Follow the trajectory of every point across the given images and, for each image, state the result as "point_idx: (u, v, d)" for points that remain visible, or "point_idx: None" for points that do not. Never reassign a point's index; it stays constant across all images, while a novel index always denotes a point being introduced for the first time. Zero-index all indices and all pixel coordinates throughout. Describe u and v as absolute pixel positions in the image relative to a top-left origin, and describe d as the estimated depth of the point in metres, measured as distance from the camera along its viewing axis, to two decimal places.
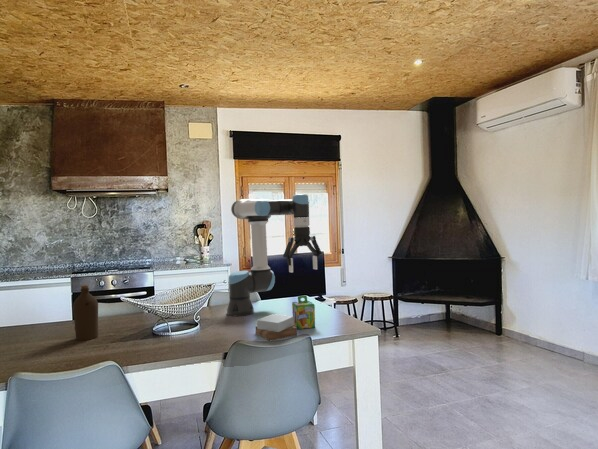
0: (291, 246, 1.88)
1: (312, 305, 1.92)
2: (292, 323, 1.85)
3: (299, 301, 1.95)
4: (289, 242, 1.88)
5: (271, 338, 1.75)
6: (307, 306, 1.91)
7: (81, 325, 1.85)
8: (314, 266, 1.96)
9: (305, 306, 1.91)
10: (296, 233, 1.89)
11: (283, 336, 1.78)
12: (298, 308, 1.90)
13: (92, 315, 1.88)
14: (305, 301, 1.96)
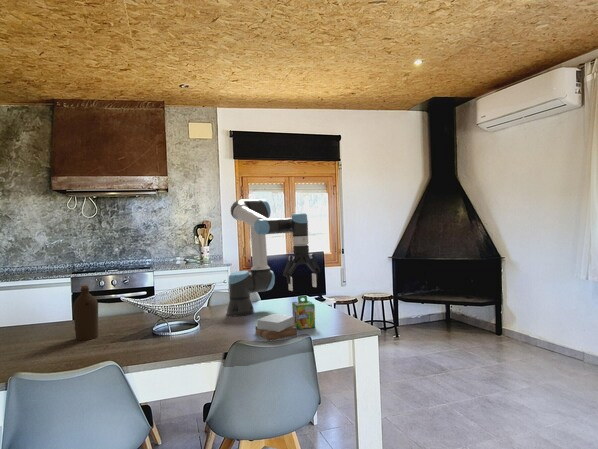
0: (290, 265, 1.90)
1: (312, 305, 1.92)
2: (292, 323, 1.85)
3: (299, 301, 1.95)
4: (288, 261, 1.91)
5: (271, 338, 1.75)
6: (307, 306, 1.91)
7: (81, 325, 1.85)
8: (313, 284, 1.98)
9: (305, 306, 1.91)
10: (295, 252, 1.92)
11: (283, 336, 1.78)
12: (298, 308, 1.90)
13: (92, 315, 1.88)
14: (305, 301, 1.96)
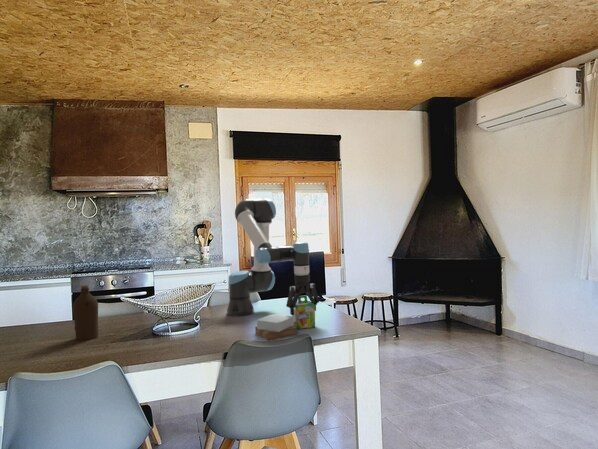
0: None
1: (312, 305, 1.92)
2: (292, 323, 1.85)
3: (299, 301, 1.95)
4: (290, 291, 1.91)
5: (271, 338, 1.75)
6: (307, 306, 1.91)
7: (81, 325, 1.85)
8: None
9: (305, 306, 1.91)
10: (296, 281, 1.92)
11: (283, 336, 1.78)
12: (298, 308, 1.90)
13: (92, 315, 1.88)
14: (305, 301, 1.96)
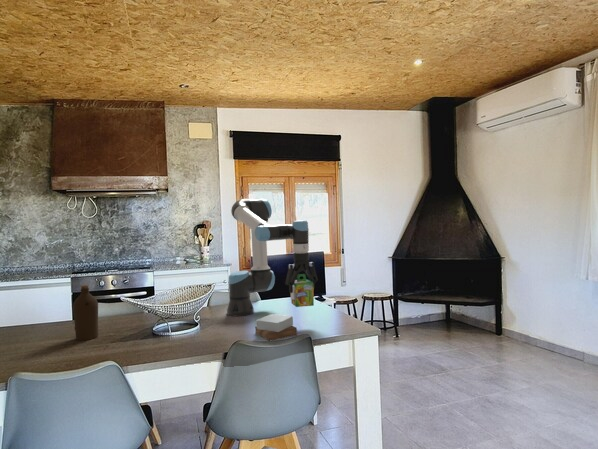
0: (291, 273, 1.91)
1: (311, 283, 1.92)
2: (291, 323, 1.85)
3: (298, 279, 1.95)
4: (289, 269, 1.91)
5: (271, 338, 1.75)
6: (306, 284, 1.91)
7: (81, 325, 1.85)
8: None
9: (304, 284, 1.91)
10: (295, 259, 1.92)
11: (283, 336, 1.78)
12: (297, 286, 1.90)
13: (93, 315, 1.88)
14: (304, 279, 1.96)
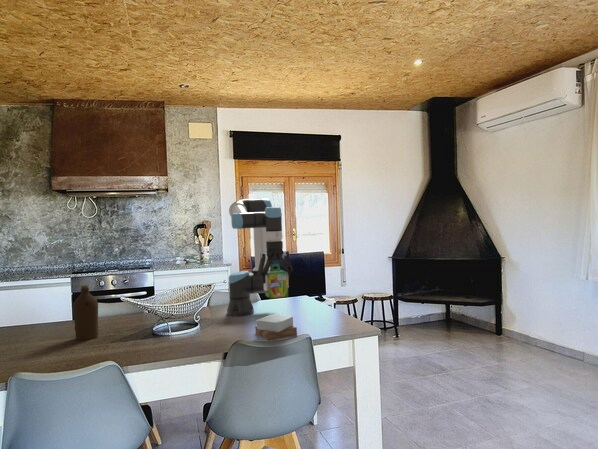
0: (264, 262, 1.80)
1: (285, 273, 1.81)
2: (291, 323, 1.85)
3: (271, 269, 1.84)
4: (261, 258, 1.80)
5: (271, 338, 1.75)
6: (280, 274, 1.80)
7: (81, 325, 1.85)
8: None
9: (277, 274, 1.80)
10: (268, 248, 1.81)
11: (283, 336, 1.78)
12: (270, 276, 1.79)
13: (92, 315, 1.88)
14: (278, 269, 1.85)
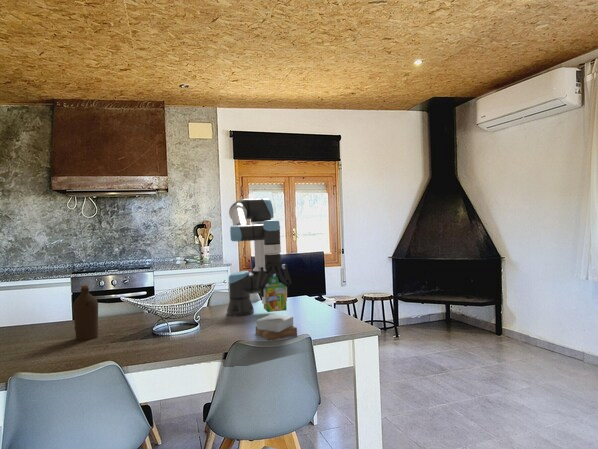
0: (262, 276, 1.79)
1: (283, 286, 1.80)
2: (292, 323, 1.85)
3: (270, 282, 1.83)
4: (259, 272, 1.80)
5: (271, 338, 1.75)
6: (278, 287, 1.80)
7: (81, 325, 1.85)
8: None
9: (275, 288, 1.79)
10: (266, 261, 1.81)
11: (283, 336, 1.78)
12: (268, 289, 1.78)
13: (92, 315, 1.88)
14: (276, 282, 1.84)
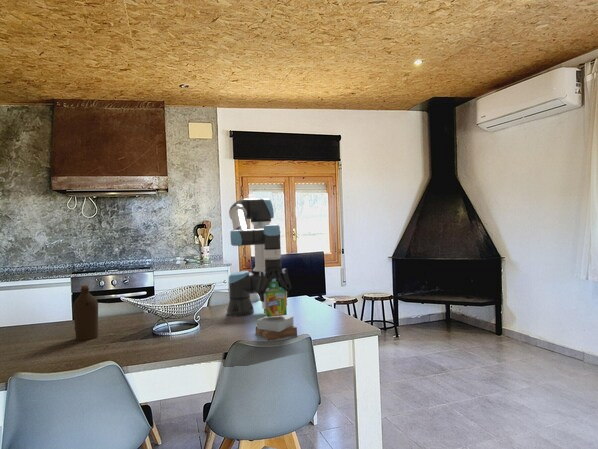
0: (262, 281, 1.79)
1: (283, 291, 1.80)
2: (292, 323, 1.85)
3: (270, 287, 1.83)
4: (260, 277, 1.80)
5: (271, 338, 1.75)
6: (278, 292, 1.80)
7: (81, 325, 1.85)
8: None
9: (276, 293, 1.79)
10: (267, 266, 1.81)
11: (283, 336, 1.78)
12: (268, 294, 1.78)
13: (93, 315, 1.88)
14: (276, 287, 1.84)
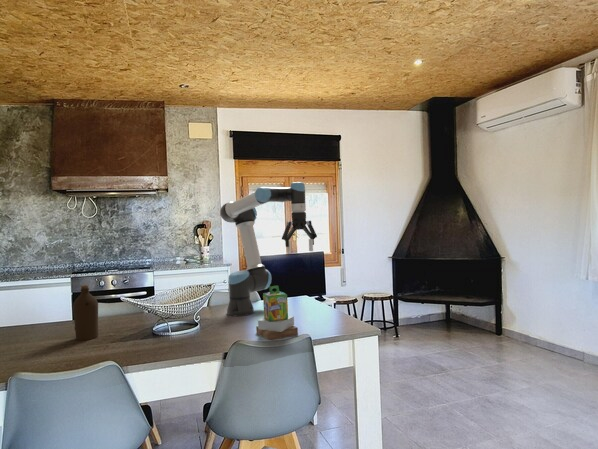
0: (289, 229, 2.06)
1: (285, 295, 1.81)
2: (293, 323, 1.86)
3: (271, 292, 1.83)
4: (287, 226, 2.07)
5: (272, 338, 1.75)
6: (280, 296, 1.80)
7: (81, 325, 1.85)
8: (310, 248, 2.14)
9: (277, 297, 1.80)
10: (293, 217, 2.08)
11: (284, 336, 1.79)
12: (270, 299, 1.78)
13: (92, 315, 1.88)
14: (277, 291, 1.84)
